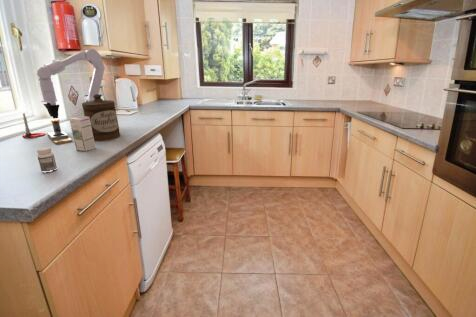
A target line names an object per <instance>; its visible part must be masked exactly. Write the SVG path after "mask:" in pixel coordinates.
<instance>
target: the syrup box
mask: <svg viewBox="0 0 476 317" xmlns="http://www.w3.org/2000/svg"><path fill="white" fill-rule="evenodd" d="M68 120H69V124H70V127H71V132H72V133H71V134H72V136H73V141H74V146H75V150H76V151H77V150H81V151H80V152H88V151H87V150H89V151H91V150H90V149H92V150H94V149H93V148H95V149H96V141H94V137H93V133H92V128H91V123H90V118H89V117H85V116H80V115H79V116H73V117H70V118H68Z"/></svg>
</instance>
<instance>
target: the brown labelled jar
mask: <svg viewBox="0 0 476 317" xmlns="http://www.w3.org/2000/svg"><path fill="white" fill-rule="evenodd" d="M93 97H94V98H95V99H94V100H93V101H90V102H86V101H84V102H82V103H81V106H82V110H83V117H89V118H90V123H91V128H92V133H93V137H94V142H107V141H112V140H116V139H118V138H120V136H121V133H120V127H119V126H120V125H119V121H118V120H119V119H118V115H117V111H116V110H117V109H116V103H115V101H114V100H111V99H110V100H109V99H108V100H107V99H105V100H103V99H102V98H101V97H102V96H101V95H100V94H95V95H94V96H93Z"/></svg>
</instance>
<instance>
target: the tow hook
mask: <svg viewBox="0 0 476 317" xmlns="http://www.w3.org/2000/svg"><path fill="white" fill-rule="evenodd" d="M22 117H23V123H24V127H25V128H24V130H25V134H22V138H25V139H35V138H37V137H38V138H40V137H43V136H45V135H46V133H45V132H34V133H33V132H32V133H31V130H30V127H29V124H28V119H27V117H26V114H25V112H24V113H22Z"/></svg>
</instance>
